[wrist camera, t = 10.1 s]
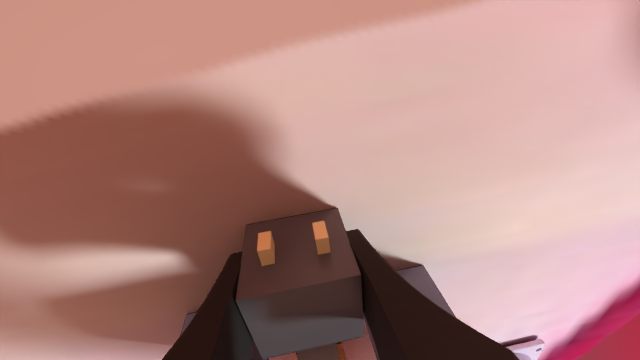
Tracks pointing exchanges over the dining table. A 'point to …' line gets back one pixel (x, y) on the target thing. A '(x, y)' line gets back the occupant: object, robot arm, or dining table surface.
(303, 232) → the plug
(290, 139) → the dining table surface
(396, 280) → the robot arm
